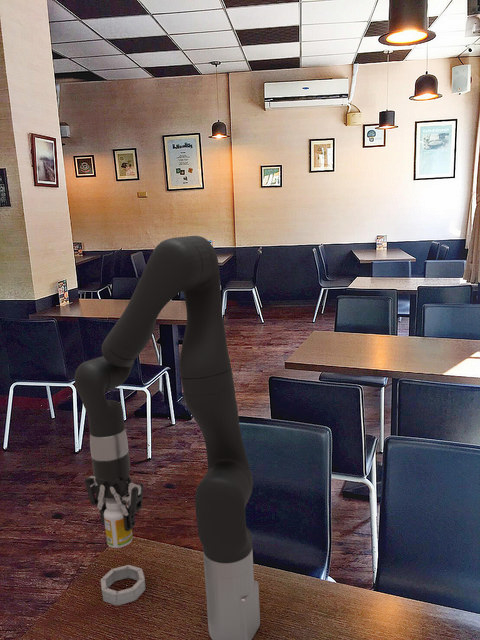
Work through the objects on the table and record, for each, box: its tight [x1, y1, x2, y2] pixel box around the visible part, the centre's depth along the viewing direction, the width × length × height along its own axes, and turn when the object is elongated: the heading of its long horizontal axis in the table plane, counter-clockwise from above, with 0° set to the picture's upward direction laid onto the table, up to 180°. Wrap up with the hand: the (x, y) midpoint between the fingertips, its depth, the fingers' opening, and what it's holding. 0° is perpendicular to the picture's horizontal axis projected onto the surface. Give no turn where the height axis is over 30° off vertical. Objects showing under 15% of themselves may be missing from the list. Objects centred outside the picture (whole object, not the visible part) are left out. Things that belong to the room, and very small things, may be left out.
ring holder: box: [100, 564, 146, 607], centre depth 111 cm, size 9×9×2 cm
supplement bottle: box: [104, 496, 134, 549], centre depth 108 cm, size 5×5×10 cm
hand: (118, 525), depth 109 cm, fingers closed on supplement bottle, 5 cm apart
